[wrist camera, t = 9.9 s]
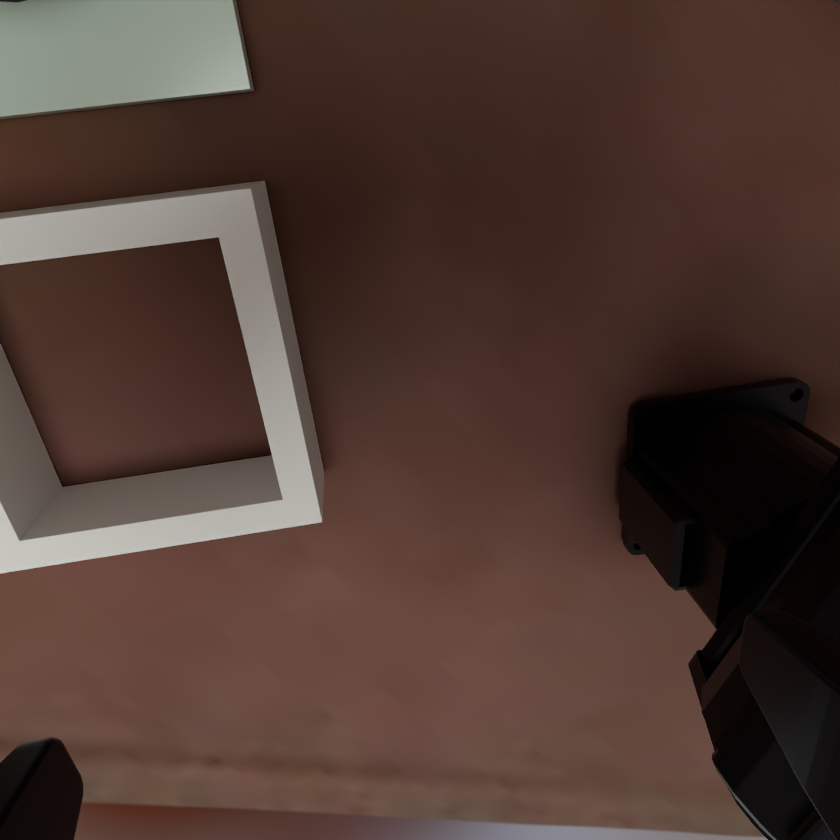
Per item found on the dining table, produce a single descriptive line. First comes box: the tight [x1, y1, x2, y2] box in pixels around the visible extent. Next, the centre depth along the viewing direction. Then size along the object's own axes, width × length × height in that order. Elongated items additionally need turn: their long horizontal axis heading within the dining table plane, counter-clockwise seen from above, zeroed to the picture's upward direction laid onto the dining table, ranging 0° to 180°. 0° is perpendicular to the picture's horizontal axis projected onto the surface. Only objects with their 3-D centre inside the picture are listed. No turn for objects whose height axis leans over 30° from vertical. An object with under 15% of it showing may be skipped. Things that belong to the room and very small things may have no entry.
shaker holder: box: [0, 181, 324, 573], centre depth 17 cm, size 10×10×3 cm
